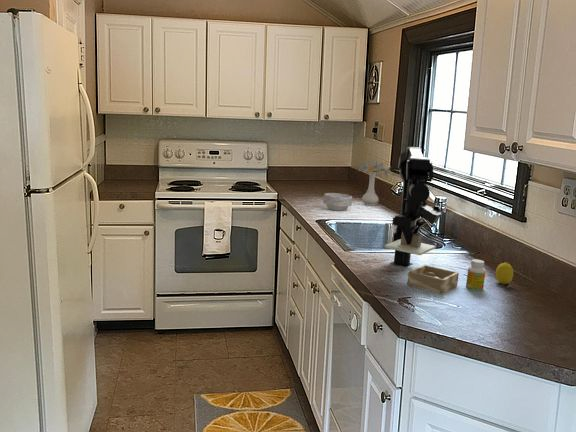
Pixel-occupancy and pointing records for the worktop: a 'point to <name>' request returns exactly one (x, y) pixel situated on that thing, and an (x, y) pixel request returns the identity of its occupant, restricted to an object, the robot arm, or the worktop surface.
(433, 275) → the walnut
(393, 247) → the lid
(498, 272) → the lemon
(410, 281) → the box
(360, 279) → the worktop surface
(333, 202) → the paper bowls
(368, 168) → the flower vase
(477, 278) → the supplement bottle
